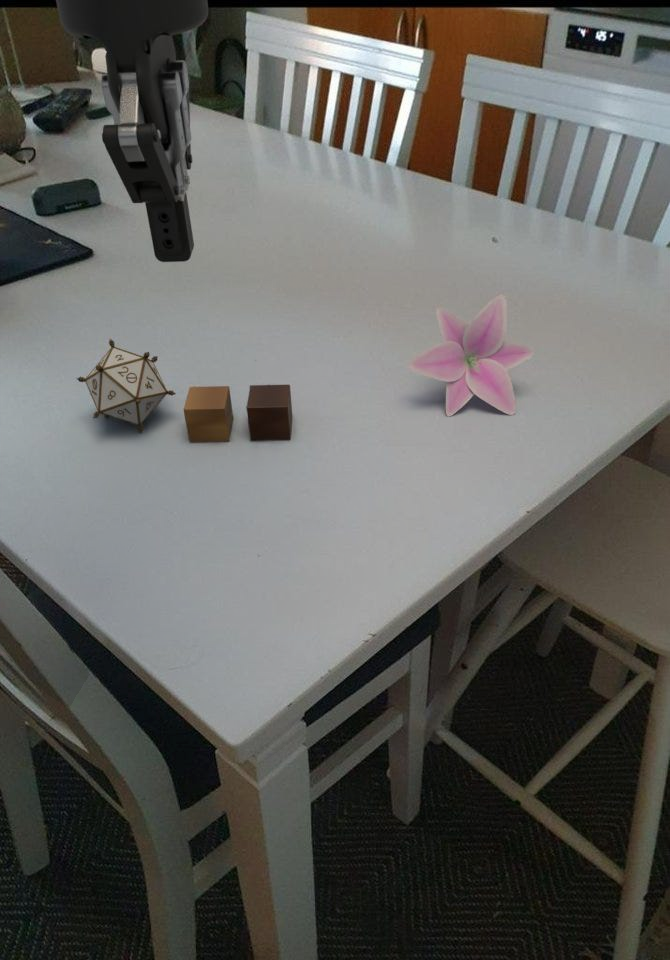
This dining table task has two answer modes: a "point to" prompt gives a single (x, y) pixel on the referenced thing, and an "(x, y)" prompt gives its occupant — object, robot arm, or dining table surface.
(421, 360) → the lily
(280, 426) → the walnut block
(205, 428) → the oak block
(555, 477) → the dining table surface
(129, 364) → the game die
